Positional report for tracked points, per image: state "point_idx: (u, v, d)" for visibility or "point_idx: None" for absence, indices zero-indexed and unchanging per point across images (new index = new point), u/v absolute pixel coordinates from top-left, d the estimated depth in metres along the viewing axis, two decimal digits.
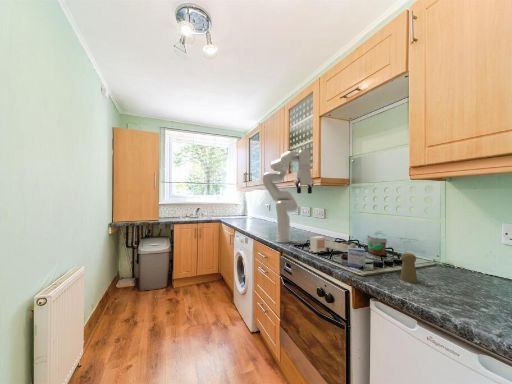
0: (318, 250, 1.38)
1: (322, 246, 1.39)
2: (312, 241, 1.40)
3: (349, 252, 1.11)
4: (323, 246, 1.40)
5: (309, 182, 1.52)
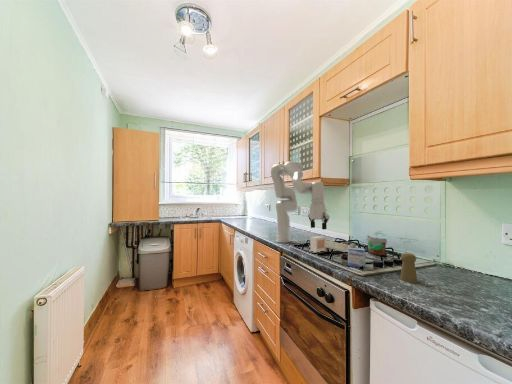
0: (318, 250, 1.38)
1: (322, 246, 1.39)
2: (312, 241, 1.40)
3: (349, 252, 1.11)
4: (323, 246, 1.40)
5: None
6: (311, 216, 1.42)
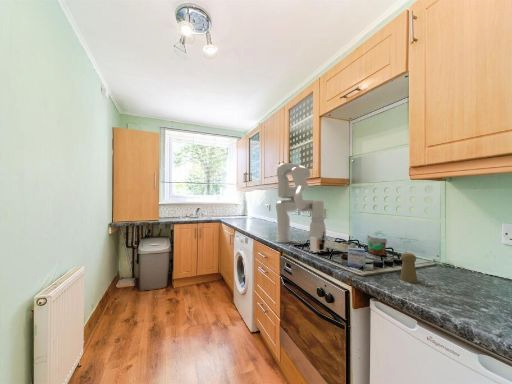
0: (318, 250, 1.38)
1: None
2: (312, 241, 1.40)
3: (349, 252, 1.11)
4: None
5: None
6: (311, 234, 1.42)
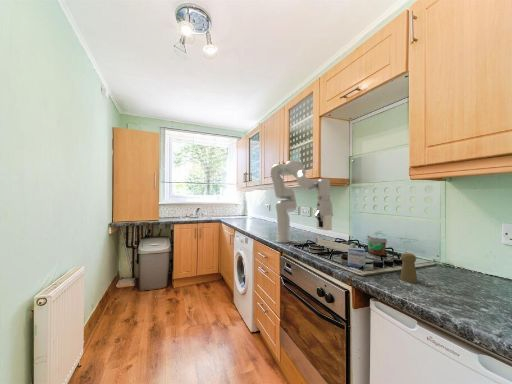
0: None
1: None
2: (328, 219, 1.39)
3: (349, 252, 1.11)
4: None
5: None
6: (323, 213, 1.39)
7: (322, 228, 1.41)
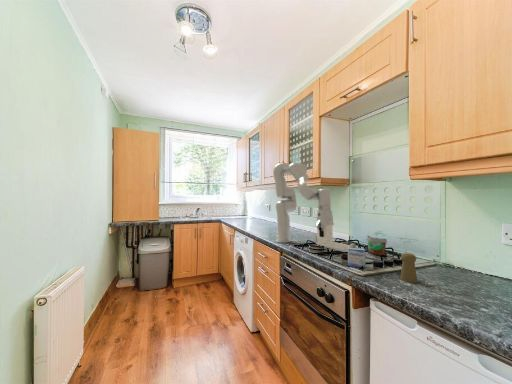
0: None
1: None
2: (328, 229, 1.39)
3: (349, 252, 1.11)
4: None
5: None
6: (324, 223, 1.39)
7: (323, 238, 1.40)
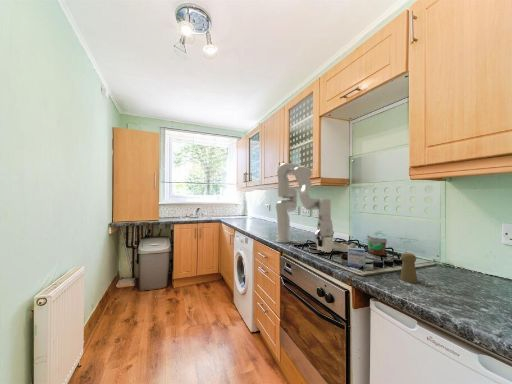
0: None
1: None
2: (328, 241, 1.39)
3: (349, 252, 1.11)
4: None
5: None
6: (324, 234, 1.39)
7: (322, 250, 1.40)
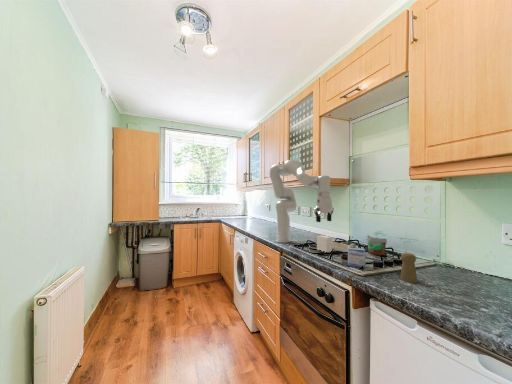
0: None
1: None
2: (328, 241, 1.39)
3: (349, 252, 1.11)
4: None
5: None
6: (323, 210, 1.40)
7: (322, 250, 1.40)
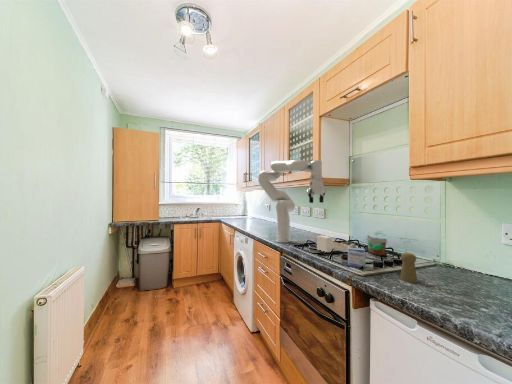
0: None
1: None
2: (328, 241, 1.39)
3: (349, 252, 1.11)
4: None
5: None
6: (316, 191, 1.52)
7: (322, 250, 1.40)
